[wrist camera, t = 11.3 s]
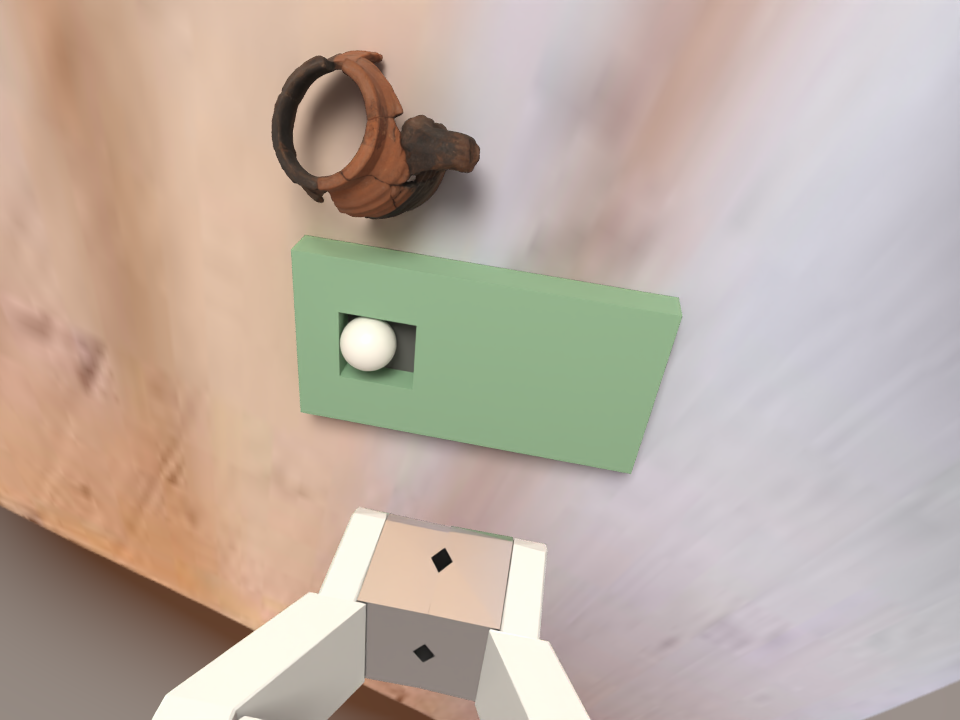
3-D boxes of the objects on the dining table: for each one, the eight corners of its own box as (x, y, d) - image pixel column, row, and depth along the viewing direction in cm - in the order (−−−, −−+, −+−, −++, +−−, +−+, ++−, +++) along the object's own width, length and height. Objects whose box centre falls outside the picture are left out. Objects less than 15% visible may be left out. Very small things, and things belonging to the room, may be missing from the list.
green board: (678, 297, 45) (682, 316, 42) (629, 452, 52) (630, 473, 50) (304, 234, 46) (291, 249, 44) (312, 393, 54) (300, 412, 52)
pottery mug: (343, 222, 46) (257, 210, 39) (347, 79, 45) (259, 38, 37) (503, 226, 41) (440, 213, 34) (512, 66, 40) (448, 15, 32)
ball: (414, 329, 48) (376, 320, 45) (397, 381, 48) (358, 376, 45) (377, 314, 50) (338, 304, 47) (361, 364, 51) (321, 357, 47)
